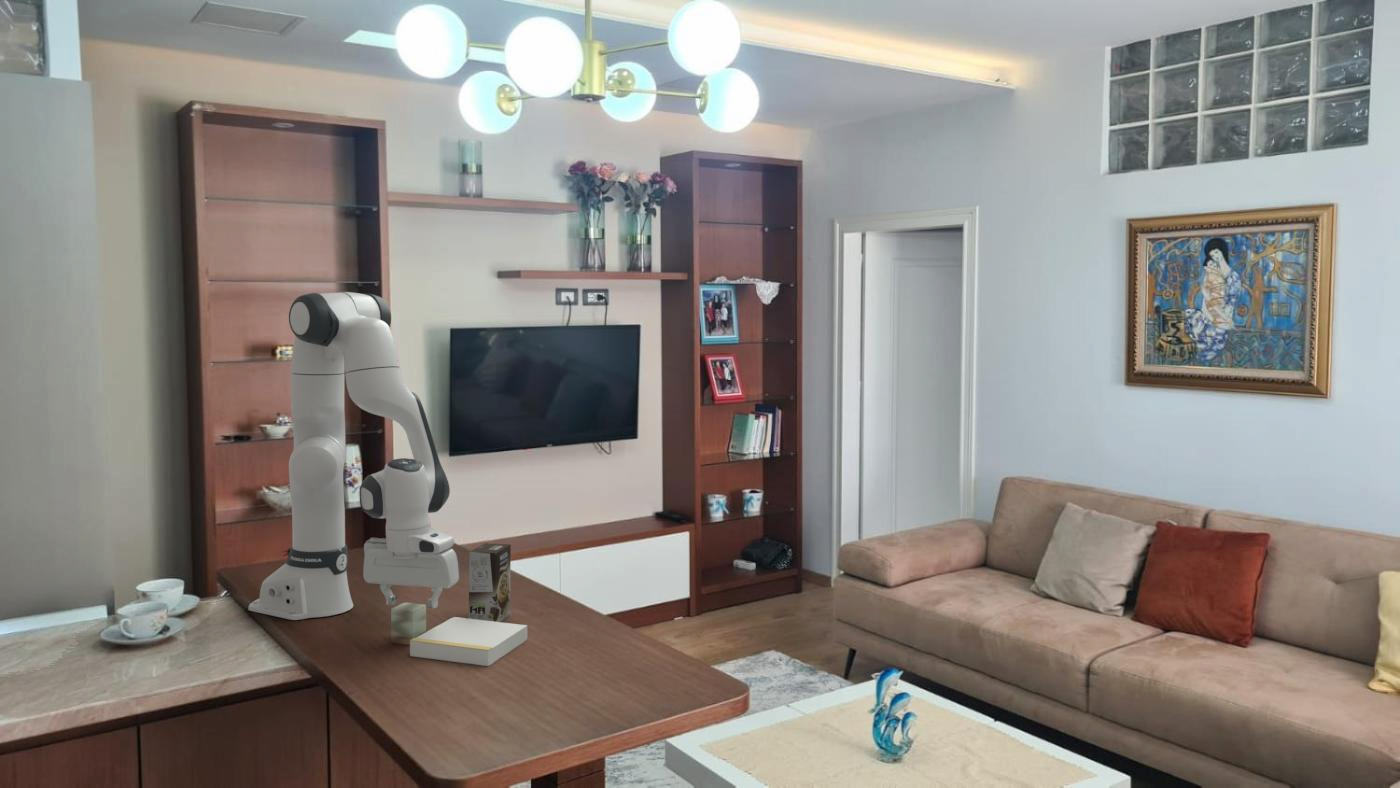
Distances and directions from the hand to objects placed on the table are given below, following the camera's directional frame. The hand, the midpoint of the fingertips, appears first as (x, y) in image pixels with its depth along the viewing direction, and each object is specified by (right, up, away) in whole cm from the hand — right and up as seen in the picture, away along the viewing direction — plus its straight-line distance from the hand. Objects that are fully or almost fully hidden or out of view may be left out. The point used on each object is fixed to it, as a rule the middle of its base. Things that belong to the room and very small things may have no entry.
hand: (412, 605), depth 219 cm
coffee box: (+13, -6, +16) cm, 21 cm away
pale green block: (-1, -7, +1) cm, 7 cm away
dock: (+12, -8, -3) cm, 15 cm away
